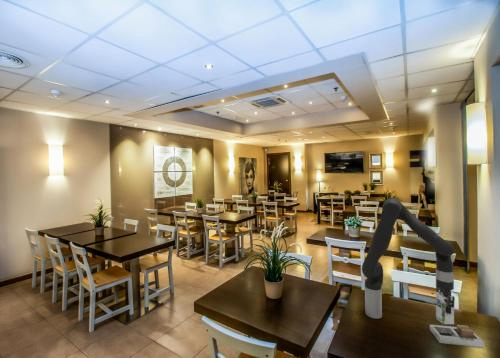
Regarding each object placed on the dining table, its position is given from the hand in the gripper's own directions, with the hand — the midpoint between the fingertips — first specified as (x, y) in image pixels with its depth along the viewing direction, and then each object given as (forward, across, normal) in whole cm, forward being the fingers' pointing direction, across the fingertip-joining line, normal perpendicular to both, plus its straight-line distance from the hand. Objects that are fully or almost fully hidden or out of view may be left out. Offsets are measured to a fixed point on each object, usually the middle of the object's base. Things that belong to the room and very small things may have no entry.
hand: (444, 309), depth 133 cm
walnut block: (+15, 0, +9) cm, 17 cm away
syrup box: (+6, 0, 0) cm, 6 cm away
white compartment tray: (+15, 0, +5) cm, 16 cm away
